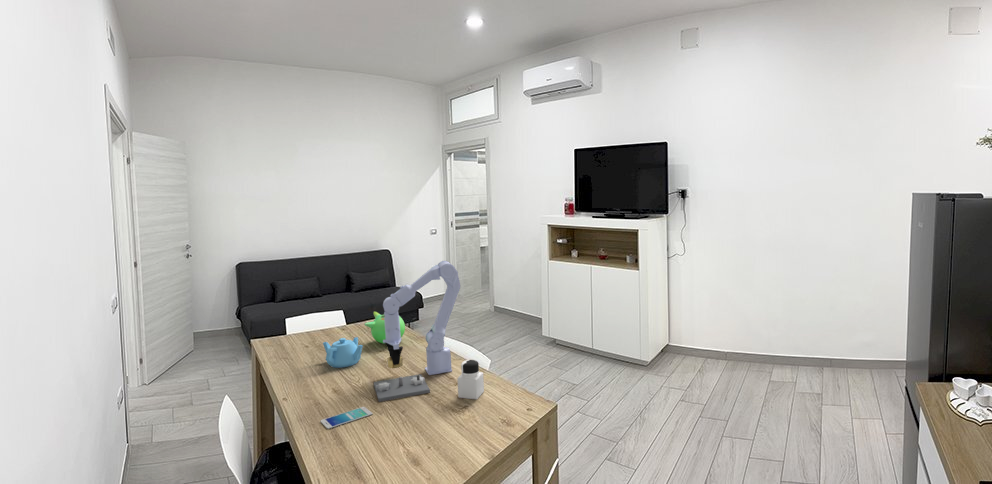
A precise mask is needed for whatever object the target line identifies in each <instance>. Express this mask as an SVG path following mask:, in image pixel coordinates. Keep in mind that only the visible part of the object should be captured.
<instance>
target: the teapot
mask: <svg viewBox="0 0 992 484" xmlns="http://www.w3.org/2000/svg"><path fill="white" fill-rule="evenodd" d="M322 345H323V348H324V350H325V353H326V355H325V356H326V357H325V361H326V362H327V364H328V365H329V366H330V367H332V368H335V369H336V368H338V369H339V368H340V369H341V368H343V369H344V368H348V367H351V366H355V365H356V364H358V362H359V361H360V360H361V357H362V356H361V355H362V352H363V351H362V350H363V346H364V345H362V344H359V337H353V340H351V339H347V338H345V337H341V338H339V339H338V340H337V341H334V342H333V343H332V344H331V345H330V343H329V341H324V342H322Z"/></svg>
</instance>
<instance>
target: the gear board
mask: <svg viewBox="0 0 992 484" xmlns="http://www.w3.org/2000/svg"><path fill="white" fill-rule="evenodd" d="M373 387H374V390H375V394H376V397H377V400H378V403H380V402H385V401H391V400H396V399H397V400H398V399H401V398H408V397H413V396H418V395H423V394H425V395H426V394H429V393H431V389H430V387H429V385H428V383H427V382H426V378H425V377H423V375H422V374H420V373H419V374H413V375H408V376H399V377H396V378H389V379H384V380H383V379H382V380H377V381H373Z"/></svg>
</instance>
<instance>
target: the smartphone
mask: <svg viewBox="0 0 992 484" xmlns="http://www.w3.org/2000/svg"><path fill="white" fill-rule="evenodd" d="M373 414H374V413H373V411H370V410H369V409H368V408H367V407H366V406H361V407H357V408H355V409H351V410H348V411H346V412H345V411H344V412H341V413H339V414H336V415H332V416H329V417H325V418H323V419H321V420H320V422H321V423H322V424H323V425H324V426H325V427H326V428H327V429H329V430H331V428H332V429H334V427H335V428H338V426H339V427H341V426H340V425H342V426H344V424H345V425H347V424H349V423H353V422H356V421H359V420H362V419H364V417H365V418H367V417H370V416H373ZM361 418H362V419H361ZM321 423H320V424H321ZM346 423H347V424H346ZM322 424H321V425H322ZM323 425H322V426H323ZM324 426H323V427H324ZM325 427H324V428H325ZM326 428H325V429H326ZM327 429H326V430H327Z"/></svg>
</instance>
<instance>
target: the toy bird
mask: <svg viewBox="0 0 992 484" xmlns="http://www.w3.org/2000/svg"><path fill="white" fill-rule="evenodd" d="M373 316H374V320H373V321H368V322H365V323H364V326H365V327H367V328H369V329H370V333H371V336H372V338H373V339H374V341H375V342H378V343H380V344H382V345H386V344H385V343H383V340H385V339H386V334H385V321H384V317H385V316H384V313H383V314H380V313H379V312H377V311H373ZM399 320H400V334H401V338H402V337H403V336H404V334H405V330H406V324H405V322H404V320H403V318H402V316H400V315H399Z"/></svg>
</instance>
